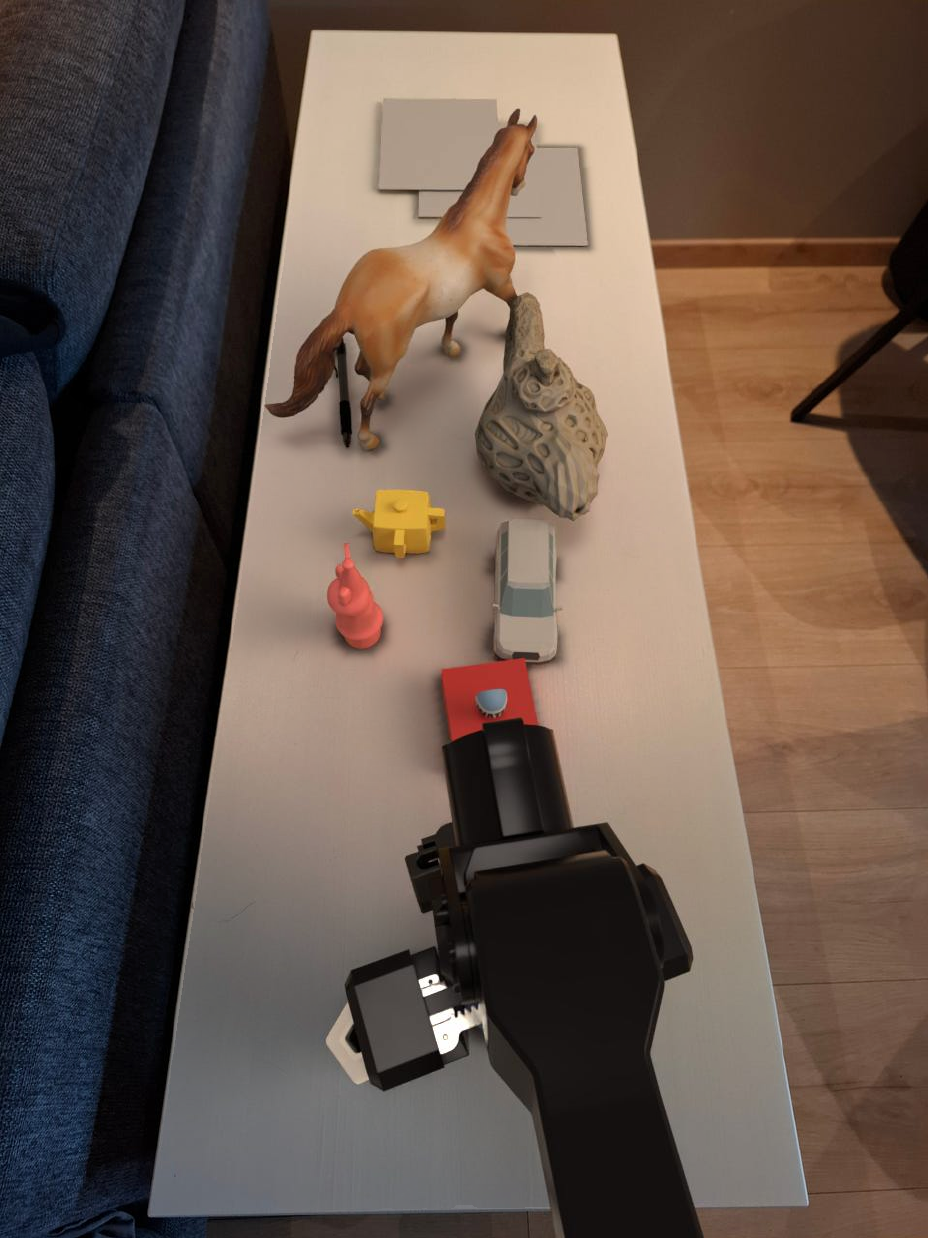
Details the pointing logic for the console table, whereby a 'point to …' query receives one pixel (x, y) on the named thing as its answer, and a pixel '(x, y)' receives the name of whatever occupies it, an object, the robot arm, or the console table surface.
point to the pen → (343, 394)
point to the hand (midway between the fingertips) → (510, 982)
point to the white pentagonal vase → (347, 1046)
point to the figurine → (354, 605)
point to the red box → (486, 695)
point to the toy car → (525, 592)
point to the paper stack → (448, 158)
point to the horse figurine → (420, 282)
